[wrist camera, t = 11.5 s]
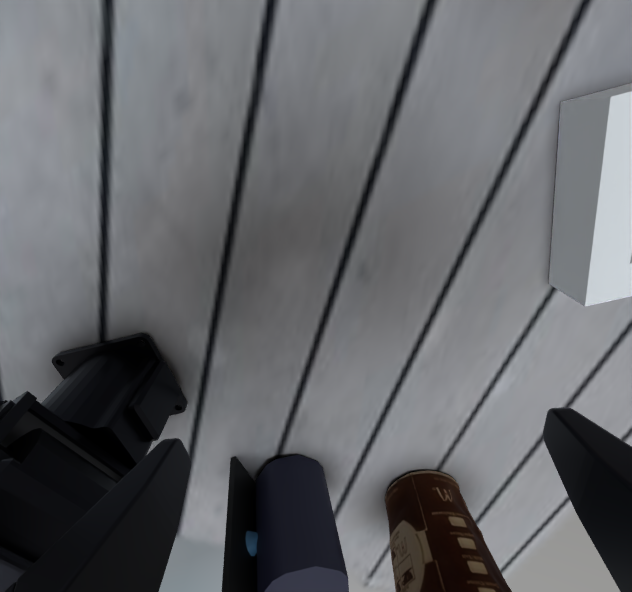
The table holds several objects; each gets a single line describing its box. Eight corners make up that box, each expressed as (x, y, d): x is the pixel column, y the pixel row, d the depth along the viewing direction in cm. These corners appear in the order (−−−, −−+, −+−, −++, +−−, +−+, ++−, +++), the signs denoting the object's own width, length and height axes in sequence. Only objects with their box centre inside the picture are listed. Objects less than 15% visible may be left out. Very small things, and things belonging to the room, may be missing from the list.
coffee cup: (374, 528, 32) (416, 762, 20) (362, 470, 28) (405, 714, 16) (469, 513, 31) (568, 744, 19) (469, 452, 27) (591, 691, 16)
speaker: (239, 505, 29) (226, 676, 20) (230, 456, 27) (210, 623, 17) (327, 492, 30) (355, 650, 20) (325, 443, 28) (356, 596, 18)
